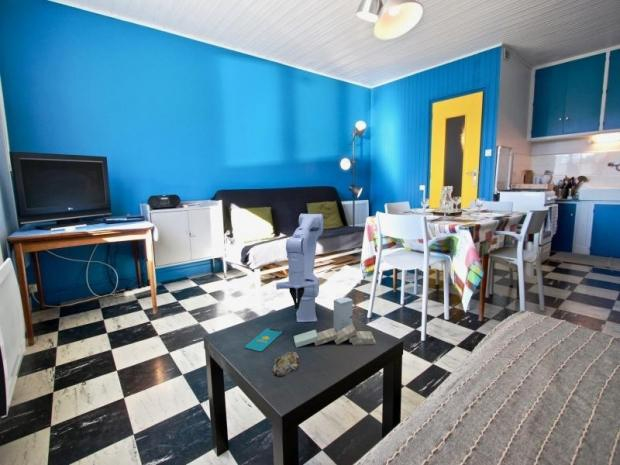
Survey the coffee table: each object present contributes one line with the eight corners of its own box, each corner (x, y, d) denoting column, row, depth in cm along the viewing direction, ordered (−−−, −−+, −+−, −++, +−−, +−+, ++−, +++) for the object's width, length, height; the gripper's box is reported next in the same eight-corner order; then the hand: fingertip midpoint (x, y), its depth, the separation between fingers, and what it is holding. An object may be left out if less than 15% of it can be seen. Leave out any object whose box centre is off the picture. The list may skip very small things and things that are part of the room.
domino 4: (349, 338, 104) (373, 338, 104) (348, 331, 109) (370, 331, 109) (349, 342, 105) (373, 342, 104) (348, 335, 110) (370, 335, 109)
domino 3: (334, 341, 104) (355, 329, 104) (332, 334, 109) (352, 323, 109) (337, 344, 105) (357, 333, 104) (334, 337, 109) (354, 327, 109)
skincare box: (340, 335, 111) (340, 303, 110) (332, 330, 115) (332, 299, 113) (353, 330, 115) (353, 299, 113) (345, 325, 119) (345, 296, 117)
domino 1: (294, 343, 103) (317, 336, 104) (293, 336, 108) (315, 329, 109) (296, 347, 103) (318, 340, 104) (295, 340, 108) (316, 333, 109)
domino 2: (314, 341, 104) (336, 334, 105) (312, 334, 109) (333, 327, 110) (315, 345, 104) (337, 338, 105) (313, 338, 109) (334, 331, 110)
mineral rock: (280, 348, 99) (302, 347, 95) (284, 360, 99) (305, 360, 96) (262, 367, 89) (285, 367, 86) (266, 381, 90) (289, 381, 86)
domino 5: (352, 342, 105) (375, 342, 105) (350, 335, 109) (372, 334, 110) (352, 347, 105) (375, 346, 105) (350, 339, 110) (372, 339, 110)
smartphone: (243, 346, 103) (267, 327, 117) (243, 349, 103) (267, 329, 117) (261, 351, 100) (283, 331, 114) (261, 354, 100) (283, 333, 114)
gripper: (275, 274, 104) (276, 312, 106) (318, 273, 105) (318, 311, 107) (276, 269, 111) (277, 305, 113) (316, 268, 112) (316, 304, 114)
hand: (296, 307), depth 110 cm, fingers closed
